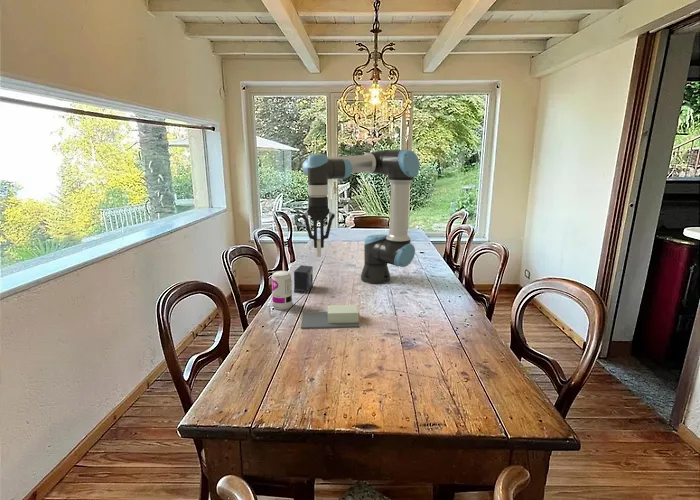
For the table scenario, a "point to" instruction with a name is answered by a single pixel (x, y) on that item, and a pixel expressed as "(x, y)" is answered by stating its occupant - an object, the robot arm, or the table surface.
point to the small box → (303, 279)
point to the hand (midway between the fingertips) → (319, 255)
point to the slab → (343, 314)
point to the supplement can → (281, 290)
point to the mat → (322, 321)
